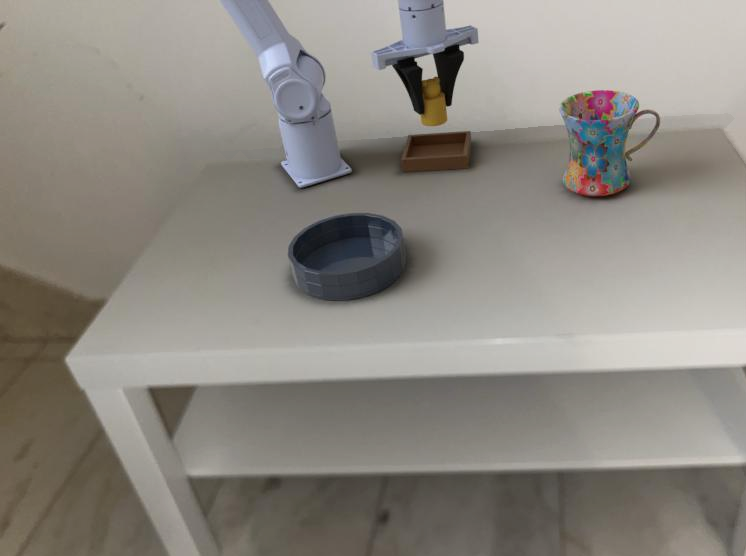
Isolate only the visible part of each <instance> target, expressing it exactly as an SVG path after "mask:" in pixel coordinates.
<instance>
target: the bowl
mask: <svg viewBox="0 0 746 556" xmlns="http://www.w3.org/2000/svg"><path fill="white" fill-rule="evenodd" d="M405 245H406V244H405V240H404V234H403V229H402V227H401V226H400V225H399V224H398V223H397V222H396V221H395V220H394V219H391V218H390V217H387V216H385V215H382V214H376V213H371V212H349V213H344V214H343V213H342V214H337V215H332V216H330V217H327V218H324V219H320V220H317V221H315V222H314V223H312V224H310V225H308V226H306V227H304V228H303V229H302V230H300V231H299V232H298V233H297V234H296V235H295V236H294V237H293V238H292V240H291V242H290V243H289V244H288V247H287V258H288V263H289V265H290V266H289V267H290V270H291V274H292V277H293V279H294V282H295V284H296V286H297V287H298V289H299V290H300V291H302V292H303V293H304V294H306V295H308V296H309V297H312V298H314V299H319V300H324V301H333V302H334V301H348V300H350V301H351V300H357V299H360V298H365V297H368V296H371V295H373V294H376V293H379V292H381V291H383V290H385V289H386V288H388V287H390V286H391V285H392V284H394V283H395V282H396V281H397V280H398V279H400V277H401V276H402V274H403V273H404V271H405V270H406V266H407V251H406V246H405Z"/></svg>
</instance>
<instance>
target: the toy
mask: <svg viewBox="0 0 746 556" xmlns="http://www.w3.org/2000/svg"><path fill="white" fill-rule="evenodd" d="M439 82H440V79H439V77H438V76H434V77H432V78H427V79H422V94H423V100H424V114H421V115H420V121H421V124H422V125H423V126H425V127H438V126H441V125H444V124H446V123H447V121H448V113H447V106H446V101H445V94H444V93H443V92H440V84H439Z"/></svg>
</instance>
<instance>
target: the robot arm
mask: <svg viewBox="0 0 746 556" xmlns="http://www.w3.org/2000/svg"><path fill="white" fill-rule="evenodd" d="M219 2H220V4H222V6H223V8H224V9H225V11H226V12H227V14H228V15H229V16H230V18H231V20H232V21H233V23H234V24H235V26H236V27H237V29H238V30H239V32H240V33H241V35H242V37H243V38H244V39H245V40H246V42H247V44H248V45H249V46H250V48H251V50H252V51H253V52H254V54H255V55H256V57H257V60H258V62H259V67H260V70H261V71H260V72H261V74H262V78H263V80H264V82H265V83H266V85H267V86H268V88H269V91H270V94H271V101H272V104H273V106H274V109H275V111H276V112H277V114H278V128H279V132H280V136H281V141H282V144H283V149H284V153H285V158H286V160H282V161H281V162H280V165H281V167H282V168H283V170H284V171H285V172H286V173H287V175H288V176H289V177H290V178H291V179H292V180H293V182H294V183H295V184H296V186H297V187H298V188H300V189H302V188H306V187H309V186H313V185H315V184H320V183H322V182H326V181H329V180H332V179H335V178H339V177H341V176H345V175H349V174H351V173H352V172H353V169H352V168H351V167H350V165H348V164H347V163H346V161H344V159H343V158H342V157H341V153H340V148H339V143H338V137H337V132H336V126H335V122H334V121H335V120H334V116H333V111H332V107H331V103H330V101H329V100H328V99H327V98H326V97H325V95H324V94H323V93H322V92H323V89H324V86H325V85H326V78H327V77H326V75H327V74H326V70H325V68H324V65H323V64H322V62H321V61H320V60H319V59H318V58H317V57H316V56H315V55H313V54H311V53H309V52H308V51H307V50H306V49H305V47H304V46H303V45H302V43H301V41H300V40H298V39H297V38H296V37H295V36H293V35H292V34H290V33H289V31H288V29H287V27H285V25H284V23H283V21H282V20H281V19H280V17H279V16H278V13H277V12H276V11H275V9H274V7H273V5H272V4H271V2H270V1H269V0H219ZM397 4H398V12H399V21H400V28H401V34H402V35H401V37H402V39H400V40H398V41H395V42H394V43H391V44H389V45H386V46H384V47H382V48H379V49H375V50H373V51H371V52H370V55H371V60H372V67H374V68H375V69H376V70H378V71H382V70H385V69H386V68H387V67H389V66H392V68H393V70H394V71H395V72H396V74H397V76H398V77H399V79H400V81H401V82H402V84H403V86H404V88H405V90H406V92H407V94H408V97H409V99H410V102H411V105H412V109H413V111H414V113H417V114H418V115H419V116H421V114H424V100H423V94H422V80H423V72H424V71H423V70H424V69H423V67H421V66H420V65H419V64H418V61H416V59H419V58H422V57H425V56H429V55H432V57H433V61H434V65H435V70H436V74H437V77H439V79H440V82H439V84H440V92H443V93H444V94H445V101H446V108H448V107H451V106H452V104H453V96H454V90H455V85H456V80H457V77H458V75H459V72H460V69H461V67H462V65H463V63H464V60H465V53H464V51H463V50H461V49H460V48H461V47H463V46H465V45H472V46H473V45H476V44H479V30H478V28H477V27H476V26H474V25H471V24H470V25H466V26H461V27H454V28H447V24H446V14H445V2H444V0H397Z"/></svg>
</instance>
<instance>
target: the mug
mask: <svg viewBox="0 0 746 556" xmlns="http://www.w3.org/2000/svg"><path fill="white" fill-rule="evenodd" d="M639 109H640V102H639V100H638V99H637V98H636V97H634V95H631V94H629V93H627V92H623V91H617V90H611V89H609V90H608V89H599V90H587V91H582V92H578V93H576V94H573V95H570V96H568V97H567V98H565V99H564V100H562V102H561V103H560V104H559V107H558V110H559V113H560V116H561V117H562V120H563V122H564V125H565V128H566V131H567V136H568V140H569V159H568V164H567V167H566V170H565V172H564V174H563V176H562V183H563V185H564V186H565V188H566V189H567V190H568V191H571V192H573V193H575V194H578V195H582V196H587V197H603V196H610V195H613V194H617V193H619V192H621V191H623V190H625V189H626V188H627V187H628V186H629V185H630V183H631V182H632V175H631V172H630V170H629V167H628V163H627V161H629V162H632V161H633V158H632V157H631V155H633V154H634V153H635V152H637V151H639V150H641V149H642V148H643V147H645V146H646V145H647V144H648V143H649V142H650V141H651V140H652V139H653V138H654V136H655V135H656V133H657V132H658V130H659V127H660V125H661V117H660V114H659V113H658V112H656V111H655V110H653V109H642V110H640V111H639ZM643 115H653V116H654V117H655V119H656V120H655V125H654V127H653V128H652V130H651V131H650V133H649V134H648V135H647V136H646V138H644V139H643V140H642V141H641V142H640V143H638V144H637V145H634V147H632V148H630V149H629V150H627V151H626V148H627V146H626V145H627V141H628V135H629V131H630V130H631V129H632V128H633V125H634V123H635V121H637V120H638V118H640V117H642V116H643Z"/></svg>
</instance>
